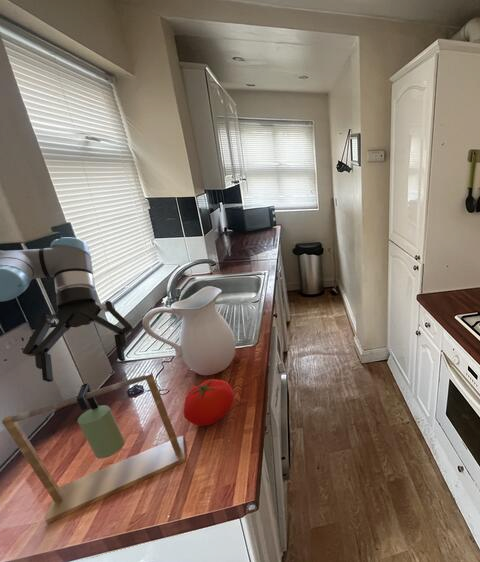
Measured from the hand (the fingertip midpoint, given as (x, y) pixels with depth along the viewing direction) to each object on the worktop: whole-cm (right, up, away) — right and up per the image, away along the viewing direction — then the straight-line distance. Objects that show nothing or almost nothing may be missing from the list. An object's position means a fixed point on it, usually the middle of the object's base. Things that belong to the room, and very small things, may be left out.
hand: (86, 369), depth 74 cm
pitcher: (+9, -10, +34) cm, 37 cm away
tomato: (+23, -18, +15) cm, 32 cm away
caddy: (+10, -16, -5) cm, 20 cm away
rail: (+10, -25, -2) cm, 27 cm away
